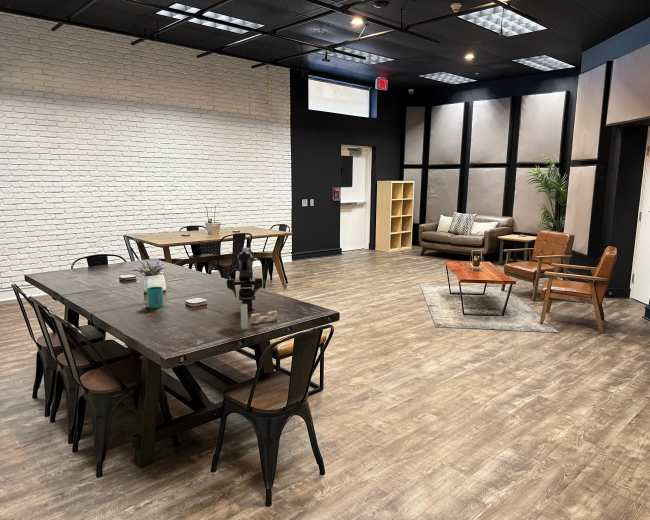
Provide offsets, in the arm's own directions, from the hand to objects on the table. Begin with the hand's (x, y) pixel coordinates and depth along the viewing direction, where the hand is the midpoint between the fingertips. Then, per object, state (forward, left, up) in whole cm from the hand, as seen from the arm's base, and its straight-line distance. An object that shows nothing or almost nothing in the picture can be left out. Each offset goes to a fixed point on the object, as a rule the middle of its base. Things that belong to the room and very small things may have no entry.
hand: (244, 296), depth 252 cm
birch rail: (+6, +8, -13) cm, 17 cm away
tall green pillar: (+7, -5, -13) cm, 16 cm away
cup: (-62, -22, -14) cm, 67 cm away
